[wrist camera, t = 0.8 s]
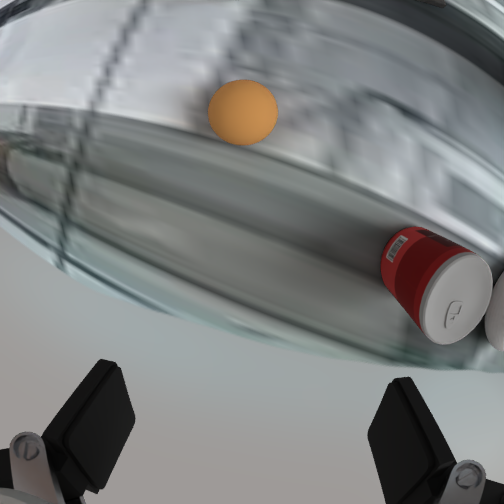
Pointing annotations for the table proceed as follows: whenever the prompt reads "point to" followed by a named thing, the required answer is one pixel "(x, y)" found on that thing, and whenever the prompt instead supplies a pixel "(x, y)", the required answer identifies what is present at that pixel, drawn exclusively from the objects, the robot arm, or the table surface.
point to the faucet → (435, 2)
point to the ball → (242, 112)
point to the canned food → (437, 283)
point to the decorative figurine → (496, 316)
